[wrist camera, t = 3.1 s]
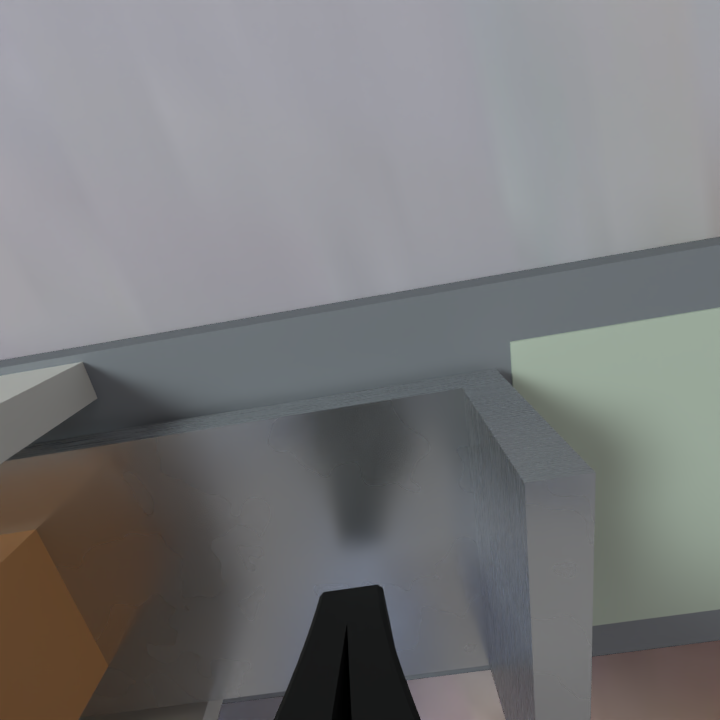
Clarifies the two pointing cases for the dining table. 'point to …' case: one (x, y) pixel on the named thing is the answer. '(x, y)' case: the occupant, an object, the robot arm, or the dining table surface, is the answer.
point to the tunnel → (31, 421)
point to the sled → (323, 541)
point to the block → (42, 637)
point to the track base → (526, 374)
